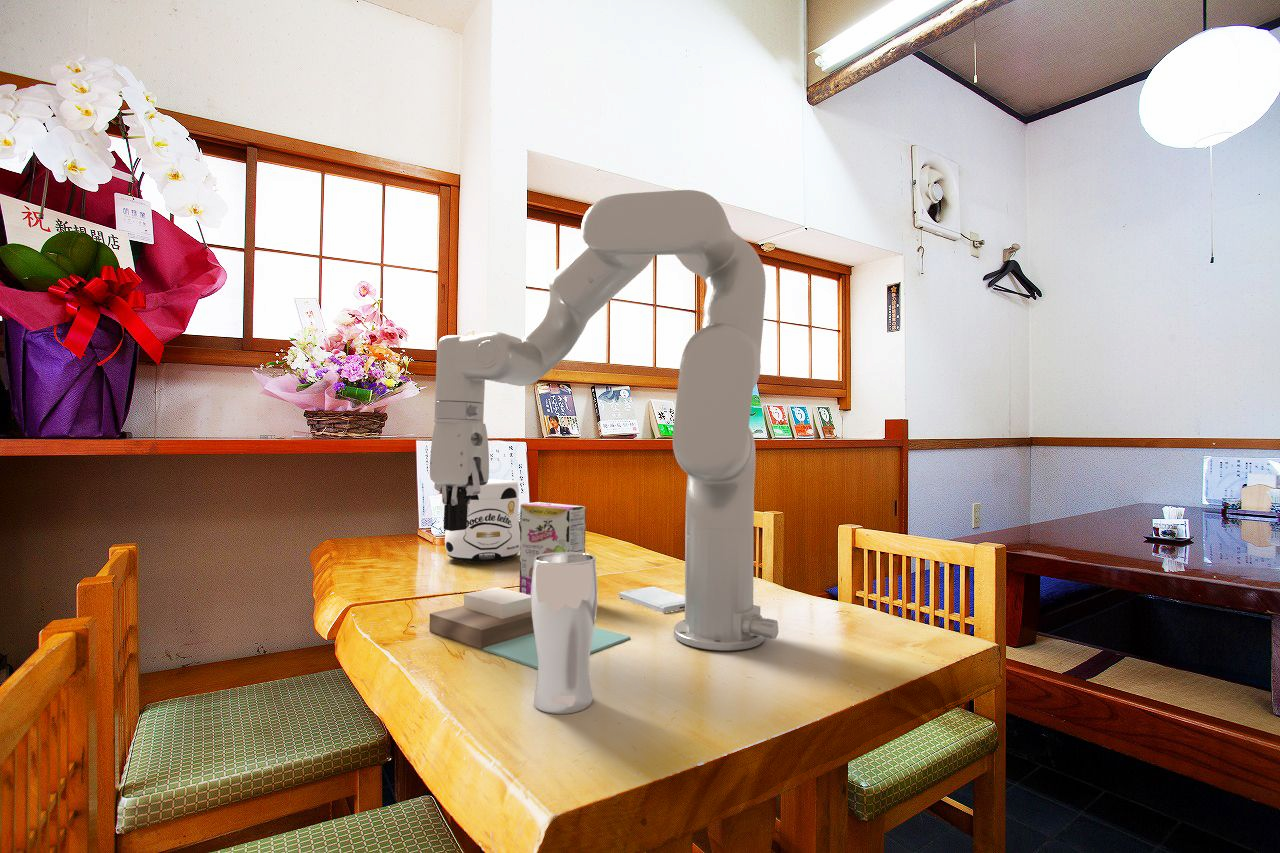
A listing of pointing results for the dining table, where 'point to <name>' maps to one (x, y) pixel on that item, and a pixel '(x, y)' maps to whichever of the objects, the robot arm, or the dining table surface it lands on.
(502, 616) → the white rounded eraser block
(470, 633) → the block
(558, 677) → the beer glass
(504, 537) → the doce de leite container
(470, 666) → the dining table surface
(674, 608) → the hard drive
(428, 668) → the dining table surface
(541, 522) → the candy bar box
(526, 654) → the mat
